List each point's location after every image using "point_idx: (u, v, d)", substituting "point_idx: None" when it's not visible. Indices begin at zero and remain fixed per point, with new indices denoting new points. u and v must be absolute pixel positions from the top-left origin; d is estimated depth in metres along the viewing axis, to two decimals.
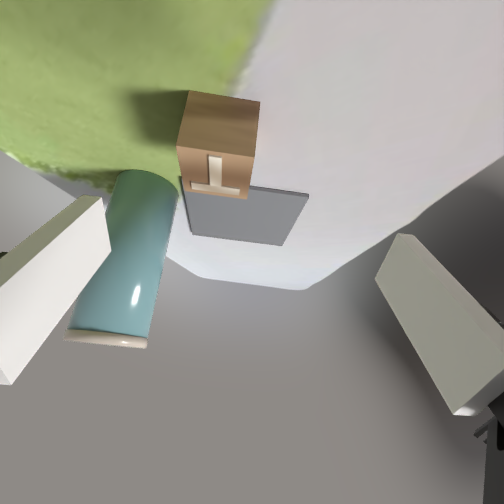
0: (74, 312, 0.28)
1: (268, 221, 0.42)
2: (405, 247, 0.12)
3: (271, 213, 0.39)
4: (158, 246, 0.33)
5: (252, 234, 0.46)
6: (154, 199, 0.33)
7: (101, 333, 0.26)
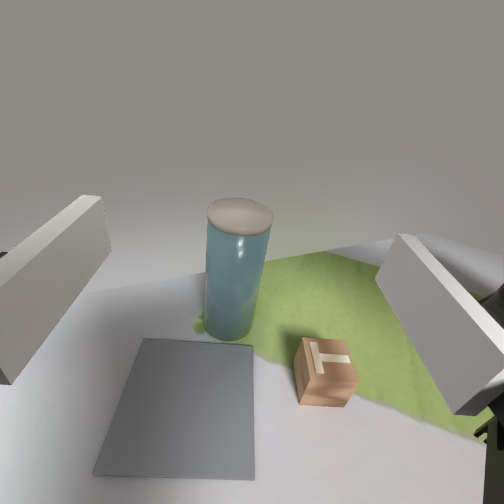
0: None
1: (186, 433, 0.31)
2: (405, 247, 0.12)
3: (209, 434, 0.31)
4: (244, 298, 0.38)
5: (144, 413, 0.32)
6: (250, 318, 0.42)
7: (271, 224, 0.34)
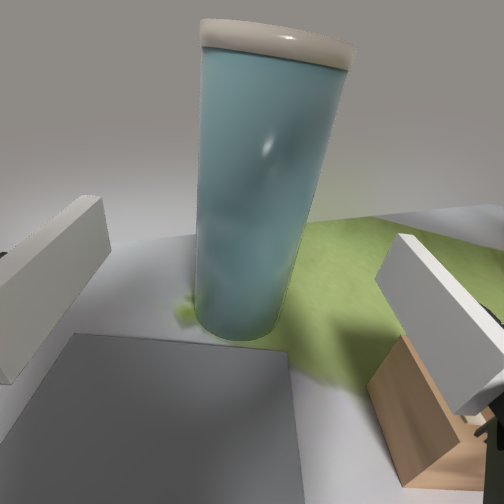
0: None
1: None
2: (405, 247, 0.12)
3: None
4: (277, 252, 0.18)
5: None
6: (282, 299, 0.22)
7: None
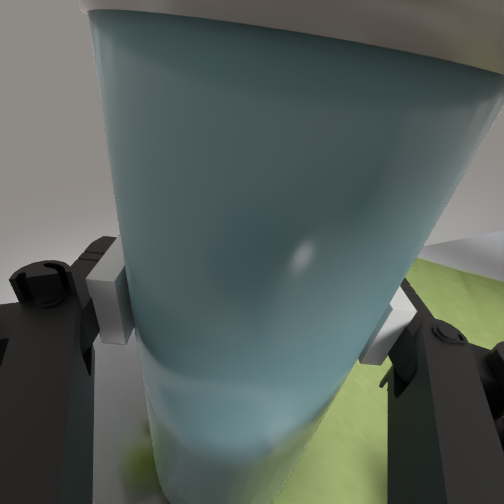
0: None
1: None
2: None
3: None
4: (294, 444, 0.09)
5: None
6: None
7: None
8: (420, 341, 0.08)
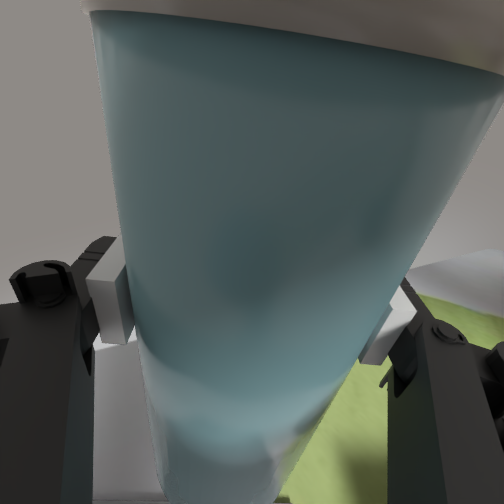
0: None
1: None
2: None
3: None
4: (294, 443, 0.09)
5: None
6: None
7: None
8: (420, 341, 0.08)
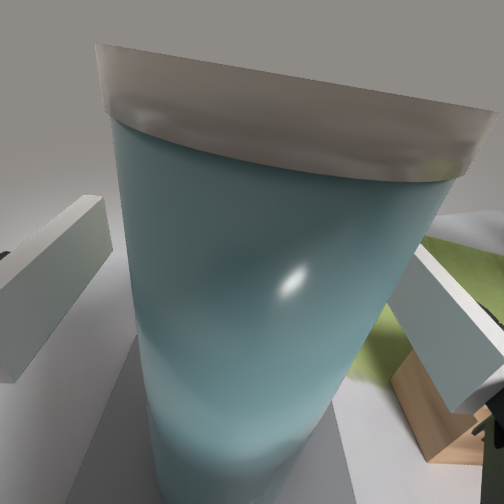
0: None
1: None
2: None
3: None
4: (285, 458, 0.10)
5: (132, 491, 0.15)
6: None
7: None
8: None
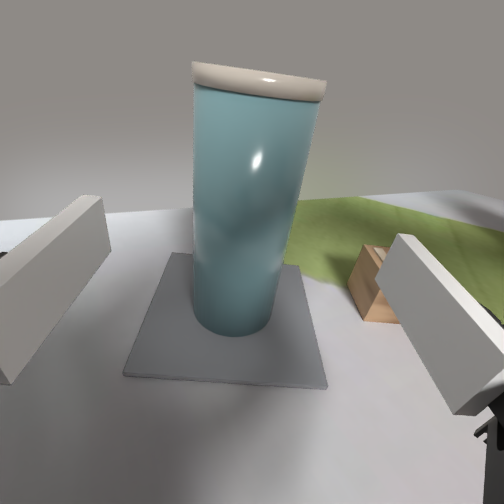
0: None
1: (235, 338, 0.25)
2: (405, 248, 0.12)
3: (264, 341, 0.25)
4: (265, 256, 0.20)
5: (181, 317, 0.26)
6: (271, 299, 0.25)
7: (322, 97, 0.17)
8: None
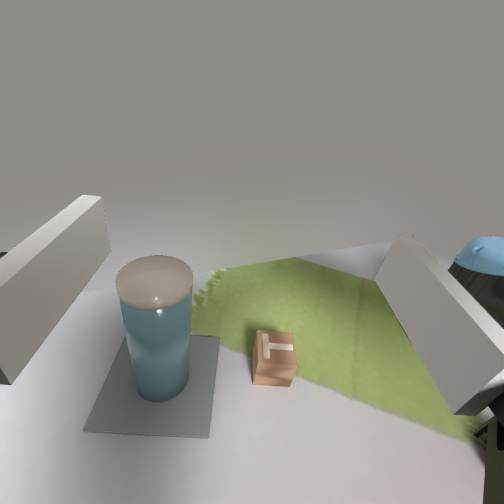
0: None
1: (158, 403, 0.39)
2: (405, 247, 0.12)
3: (176, 404, 0.39)
4: (166, 364, 0.35)
5: (125, 388, 0.40)
6: (181, 379, 0.39)
7: (190, 290, 0.31)
8: None
